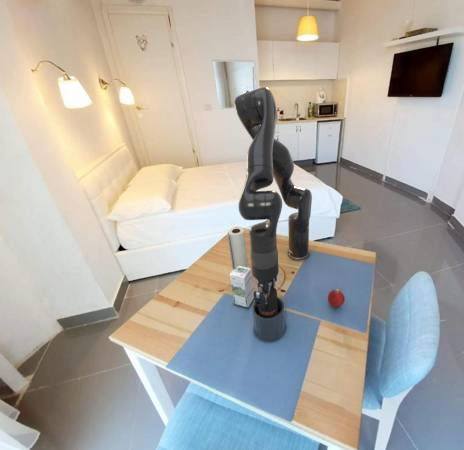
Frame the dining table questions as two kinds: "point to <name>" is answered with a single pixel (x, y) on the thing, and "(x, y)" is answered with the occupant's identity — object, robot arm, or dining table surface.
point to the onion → (336, 298)
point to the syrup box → (242, 286)
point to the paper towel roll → (237, 247)
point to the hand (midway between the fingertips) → (267, 303)
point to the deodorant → (270, 304)
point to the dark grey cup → (269, 323)
